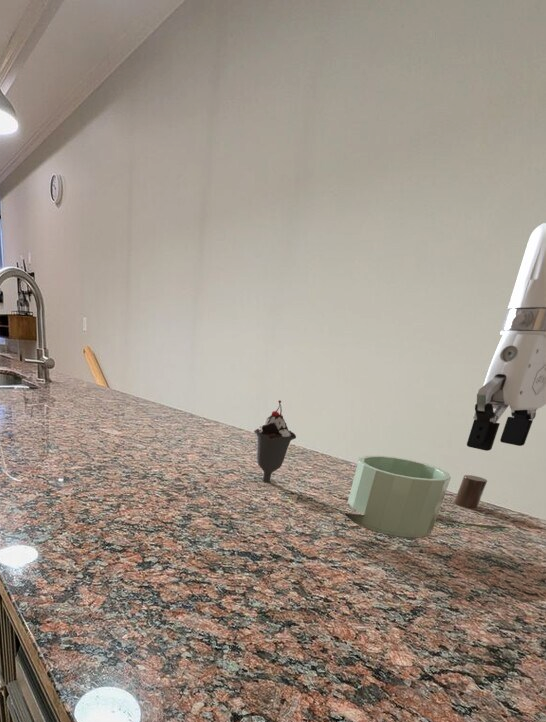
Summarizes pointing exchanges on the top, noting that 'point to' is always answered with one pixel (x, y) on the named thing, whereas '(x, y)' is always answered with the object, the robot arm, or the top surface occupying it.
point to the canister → (397, 495)
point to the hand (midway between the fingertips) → (495, 446)
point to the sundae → (272, 443)
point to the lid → (472, 495)
